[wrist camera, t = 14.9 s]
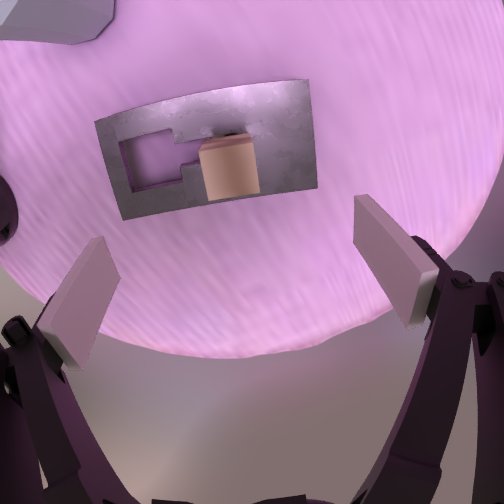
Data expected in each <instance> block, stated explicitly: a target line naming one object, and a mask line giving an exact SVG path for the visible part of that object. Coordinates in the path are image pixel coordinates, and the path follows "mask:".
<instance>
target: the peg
mask: <svg viewBox="0 0 504 504" xmlns="http://www.w3.org/2000/svg"><path fill="white" fill-rule="evenodd" d="M198 152H199V157H200V162H201V167H202V172H203V177H204V181H205V186H206V191H207V196H208V200H209V201H212V200H218V199H224V198H230V197H236V196H243V195H249V194H256V193H260V188H259V181H258V174H257V167H256V160H255V153H254V146H253V141H252V138H251V135H250V133H246V134H239V135H238V133H237V132H235V133H229V134H223V135H217V136H212V138H211V139H209V140H204V141H203V143H202V145H201V147H200V149H199V151H198Z"/></svg>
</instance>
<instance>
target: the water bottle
mask: <svg viewBox="0 0 504 504" xmlns="http://www.w3.org/2000/svg"><path fill="white" fill-rule="evenodd" d="M113 10H114V0H0V40H16V41H36V42H49V43H59V44H68V45H72V44H76V43H80V42H84V41H88V40H92V39H95V37H96V36H97V35H98V34H99V33H100V32H101V31H102V29H103V28H104V27H105V26H106V25H107V24H108V23H109V22H110V21H111V20H112V18H113Z"/></svg>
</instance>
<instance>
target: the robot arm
mask: <svg viewBox="0 0 504 504" xmlns="http://www.w3.org/2000/svg"><path fill="white" fill-rule="evenodd" d="M17 223H18V212H17V206H16V202H15V199H14V196H13V193H12V191H11V189H10V188H9V186H8V184H7V183H6V182H5V180H4V179H3V178H2V177H1V176H0V246H2V245H4V244H5V243H6V242H7V241H8V240H9V239H10V238H11V237H12V236H13V235H14V233H15V231H16V228H17ZM353 243H354V245H355V246H356V248H357V249H358V251H359V252H360V254H361V255H362V257H363V258H364V260H365V262H366V263H367V265H368V266H369V268H370V269H371V271H372V273H373V274H374V276H375V277H376V279H377V281H378V282H379V284H380V285H381V287H382V289H383V290H384V292H385V294H386V295H387V297H388V299H389V300H390V302H391V304H392V305H393V307H394V309H395V311H396V312H397V314H398V316H399V317H400V319H401V321H402V323H403V324H404V326H405V328H406V330H409V329H413V328H416V327H419V326H422V325H423V323H424V320H425V317H426V314H427V316H428V317H429V319H430V321H431V323H430V326H429V328H428V331H427V334H426V336H425V339H424V340H425V342H424V346H423V349H422V352H421V355H420V358H419V362H418V365H417V368H416V370H415V373H414V376H413V379H412V382H411V384H410V387H409V390H408V392H407V395H406V397H405V400H404V402H403V405H402V407H401V410H400V412H399V414H398V417H397V419H396V421H395V424H394V426H393V428H392V430H391V432H390V434H389V436H388V439H387V441H386V443H385V445H384V447H383V449H382V451H381V453H380V455H379V457H378V459H377V460H376V462H375V464H374V466H373V468H372V470H371V471H370V473H369V475H368V477H367V478H366V480H365V481H364V483H363V485H362V486H361V487H360V489H359V490H358V492H357V494H356V495H355V497H354V498H353V500H352V501H351V503H350V504H430V502H431V500H432V498H433V496H434V493H435V491H436V489H437V487H438V484H439V481H440V478H441V474H442V470H441V468H440V462H441V459H442V457H443V454H444V451H445V448H446V445H447V442H448V439H449V436H450V433H451V430H452V426H453V423H454V420H455V416H456V412H457V409H458V405H459V401H460V397H461V392H462V388H463V383H464V379H465V374H466V368H467V362H468V357H469V351H470V344H471V337H472V341H473V349H474V358H475V368H476V381H477V401H478V437H477V457H476V468H475V478H474V486H473V495H472V504H504V272H501V271H500V272H494V273H492V275H491V277H490V279H489V282H475V280H474V279H473V278H472V277H471V276H470V275H468V274H467V273H465V272H462V271H457V270H455V271H453V270H452V269H451V268H450V266H449V265H448V264H447V263H446V262H445V261H444V260H443V259H442V258H441V257H440V255H439V254H437V252H436V251H435V250H434V249H432V247H431V246H430V245H429V244H428V243H427V242H426V241H425V240H423V239H422V238H420V237H418V236H409V235H408V234H407V233H406V232H405V231H404V229H403V228H402V227H401V226H400V225H399V224H398V223H397V222H396V221H395V220H394V219H393V218H392V217H391V216H390V215H389V214H388V213H387V212H386V211H385V210H384V209H383V208H382V207H381V206H380V205H379V204H378V203H377V202H376V201H375V200H374V199H372V198H371V197H370V196H369V195H368V194H365V195H357V196H354V236H353ZM119 280H120V275H119V273H118V271H117V268H116V266H115V264H114V261H113V259H112V257H111V254H110V252H109V249H108V247H107V244H106V242H105V239H104V237H103V236H102V237H97V238H93V239H91V240H90V242H89V243H88V245H87V246H86V247H85V249H84V250H83V252H82V253H81V255H80V256H79V258H78V259H77V260H76V262H75V263H74V265H73V266H72V268H71V269H70V271H69V272H68V274H67V275H66V277H65V279H64V280H63V282H62V283H61V285H60V286H59V288H58V290H57V291H56V292H55V293H54V294H53V295H52V296H51V297H50V299H49V300H48V302H47V303H46V306H45V307H44V308H43V310H42V312H41V314H40V315H39V317H38V319H37V321H36V323H35V324H34V326H33V328H32V329H31V328H30V327H29V325H28V324H27V322H26V321H25V319H24V318H23V317H22V316H20V315H19V316H15V317H13V318H11V319H10V320H9V321H8V322H7V323H6V324H5V325H4V327H3V329H2V332H1V334H2V335H3V337H4V338H5V340H6V341H7V342H8V343H9V345H10V346H11V347H9V348H6V349H4V347H3V346H2V345H1V343H0V504H140V503H139V502H138V501H137V500H136V499H135V498H134V497H132V496H131V495H130V494H129V492H128V491H127V490H126V488H125V487H124V485H123V484H122V482H121V481H120V479H119V478H118V476H117V475H116V473H115V472H114V470H113V468H112V467H111V465H110V464H109V462H108V460H107V459H106V457H105V455H104V453H103V452H102V450H101V448H100V446H99V445H98V443H97V441H96V439H95V437H94V435H93V434H92V432H91V430H90V428H89V426H88V424H87V422H86V420H85V418H84V416H83V414H82V412H81V409H80V407H79V405H78V403H77V401H76V399H75V396H74V394H73V392H72V389H71V387H70V385H69V382H68V380H67V377H66V375H65V373H64V371H63V370H62V369H61V366H62V364H63V362H64V363H65V365H66V366H67V367H68V368H69V369H70V370H73V371H83V370H84V368H85V365H86V362H87V359H88V357H89V354H90V351H91V349H92V346H93V343H94V341H95V338H96V335H97V333H98V330H99V328H100V325H101V323H102V320H103V318H104V315H105V313H106V310H107V308H108V306H109V303H110V301H111V299H112V296H113V294H114V292H115V289H116V287H117V285H118V283H119ZM4 385H5V386H6V387H7V388H8V389H9V394H8V393H7V392H6V390H5V387H4ZM38 459H39V461H40V464H41V467H42V470H43V472H44V475H45V477H46V480H47V482H48V487H47V488H45V489H44V490H43V485H42V479H41V474H40V467H39V461H38ZM152 504H193V503H189V502H181V501H167V500H156V499H152ZM253 504H334V503H330V502H326V501H321V500H313V499H306V495H305V494H304V495H298V496H291V497H284V498H276V499H267V500H263V501H260V502H257V503H253Z"/></svg>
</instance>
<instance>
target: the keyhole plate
mask: <svg viewBox="0 0 504 504" xmlns="http://www.w3.org/2000/svg"><path fill="white" fill-rule="evenodd" d="M94 123H95V127H96V131H97V135H98V139H99V143H100V147H101V150H102V154H103V158H104V161H105V165H106V168H107V172H108V175H109V179H110V182H111V185H112V188H113V192H114V195H115V198H116V201H117V204H118V207H119V210H120V213H121V216H122V219H123V221H124V220H129V219H134V218H139V217H143V216H148V215H153V214H159V213H164V212H169V211H174V210H180V209H185V208H191V207H196V206H202V205H208V204H214V203H220V202H226V201H232V200H238V199H245V198H251V197H258V196H265V195H272V194H279V193H286V192H294V191H301V190H309V189H317V188H318V185H317V169H316V154H315V141H314V129H313V118H312V108H311V99H310V90H309V81H308V79H297V80H284V81H274V82H264V83H256V84H248V85H241V86H234V87H228V88H221V89H216V90H210V91H205V92H200V93H195V94H190V95H185V96H181V97H176V98H172V99H168V100H164V101H160V102H156V103H152V104H148V105H145V106H141V107H138V108H134V109H131V110H127V111H124V112H121V113H118V114H114V115H111V116H108V117H106V118H103V119H100V120H97V121H94ZM170 128H171V129H172V134H173V138H174V143H175V144H177V143H181V142H186V141H191V140H196V139H201V138H206V137H212V136H217V135H223V134H229V133H235V132H237V133H238V135H239V134H246V133H250V135H251V138H252V141H253V146H254V153H255V160H256V167H257V174H258V181H259V188H260V193H256V194H249V195H243V196H236V197H230V198H224V199H218V200H212V201H209V200H208V196H207V191H206V186H205V181H204V177H203V172H202V167H201V162H200V160H199V161H194V162H189V163H184V164H181V166H180V170H181V174H182V179H180V180H175V181H170V182H166V183H161V184H156V185H152V186H147V187H143V188H138V189H135V187H134V183H133V180H132V176H131V173H130V169H129V165H128V162H127V158H126V154H125V150H124V146H123V142H122V141H123V140H127V139H130V138H134V137H138V136H141V135H145V134H149V133H153V132H157V131H161V130H165V129H170Z"/></svg>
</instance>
